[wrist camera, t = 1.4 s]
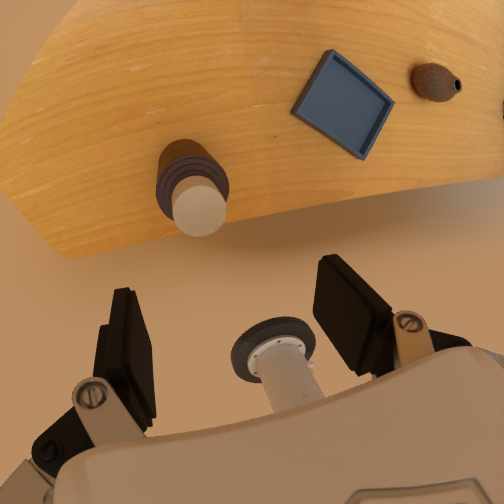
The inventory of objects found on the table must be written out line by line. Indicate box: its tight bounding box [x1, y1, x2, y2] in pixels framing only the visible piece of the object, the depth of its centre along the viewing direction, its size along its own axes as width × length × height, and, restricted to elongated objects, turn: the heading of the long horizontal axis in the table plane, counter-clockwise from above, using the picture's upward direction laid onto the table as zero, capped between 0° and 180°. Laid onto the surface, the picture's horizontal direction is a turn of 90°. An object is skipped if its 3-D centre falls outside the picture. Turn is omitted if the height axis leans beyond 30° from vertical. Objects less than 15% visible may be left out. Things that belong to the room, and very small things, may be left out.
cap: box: [172, 176, 227, 237], centre depth 22 cm, size 4×4×3 cm
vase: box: [413, 63, 462, 102], centre depth 34 cm, size 7×7×9 cm
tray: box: [290, 49, 395, 160], centre depth 37 cm, size 13×11×2 cm
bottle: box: [156, 139, 229, 221], centre depth 28 cm, size 6×6×18 cm
